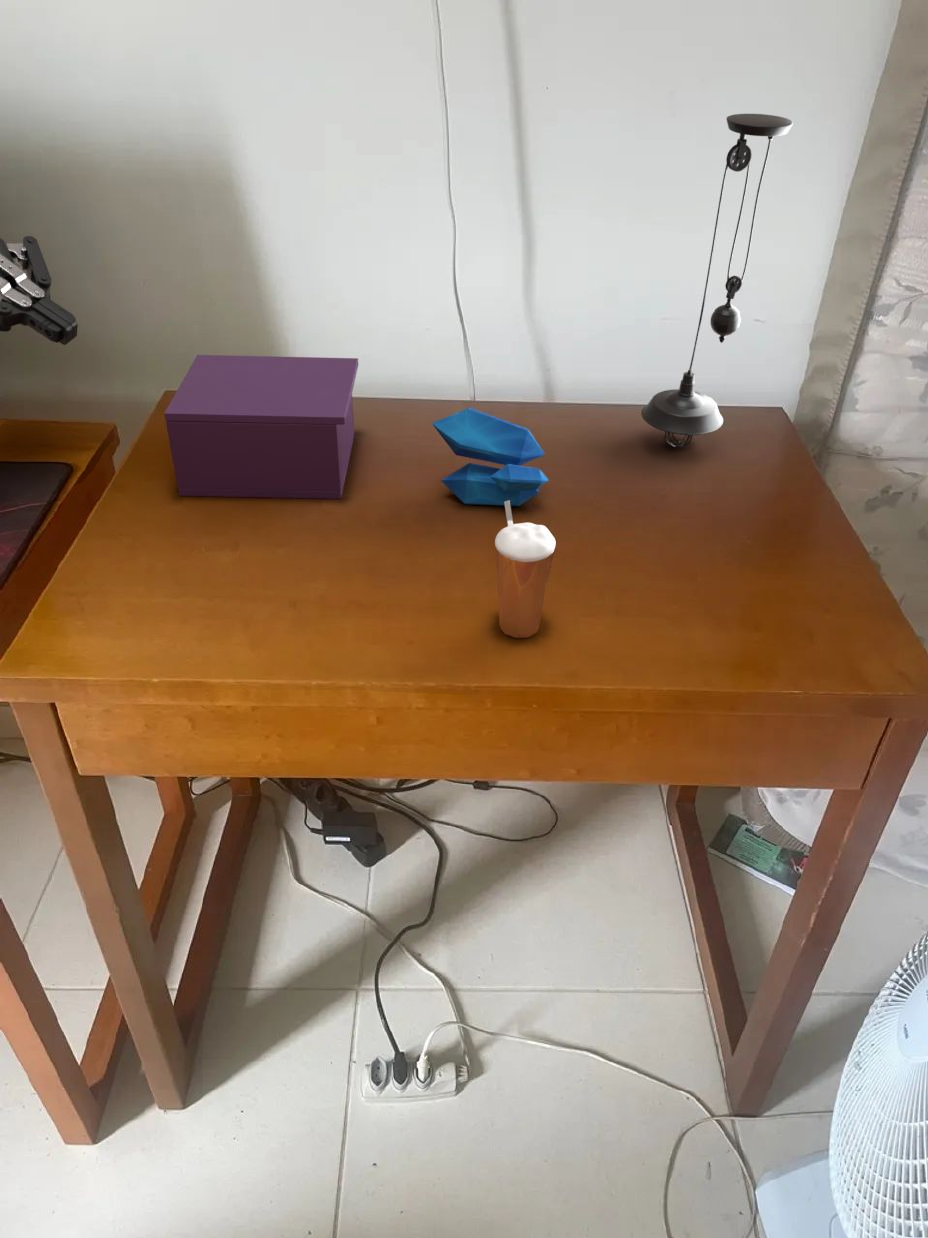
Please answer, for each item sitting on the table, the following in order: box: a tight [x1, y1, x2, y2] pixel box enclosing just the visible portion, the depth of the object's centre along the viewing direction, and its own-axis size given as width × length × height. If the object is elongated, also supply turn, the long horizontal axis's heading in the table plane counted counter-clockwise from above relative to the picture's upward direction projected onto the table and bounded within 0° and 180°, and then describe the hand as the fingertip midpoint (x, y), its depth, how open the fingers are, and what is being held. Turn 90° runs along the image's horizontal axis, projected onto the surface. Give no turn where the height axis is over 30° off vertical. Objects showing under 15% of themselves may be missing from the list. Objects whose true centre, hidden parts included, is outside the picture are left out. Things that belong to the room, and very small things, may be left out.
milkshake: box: [494, 501, 557, 639], centre depth 76 cm, size 4×5×10 cm
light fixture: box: [640, 113, 794, 448], centre depth 95 cm, size 10×8×31 cm
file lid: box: [164, 354, 359, 425], centre depth 95 cm, size 16×14×1 cm
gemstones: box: [431, 407, 550, 507], centre depth 93 cm, size 7×9×12 cm
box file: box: [165, 395, 355, 500], centre depth 97 cm, size 16×14×8 cm
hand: (72, 333), depth 89 cm, fingers closed
